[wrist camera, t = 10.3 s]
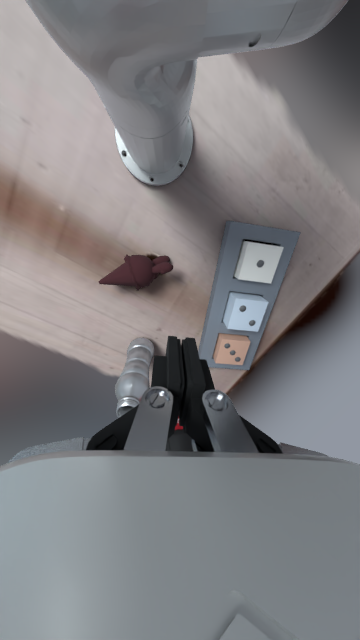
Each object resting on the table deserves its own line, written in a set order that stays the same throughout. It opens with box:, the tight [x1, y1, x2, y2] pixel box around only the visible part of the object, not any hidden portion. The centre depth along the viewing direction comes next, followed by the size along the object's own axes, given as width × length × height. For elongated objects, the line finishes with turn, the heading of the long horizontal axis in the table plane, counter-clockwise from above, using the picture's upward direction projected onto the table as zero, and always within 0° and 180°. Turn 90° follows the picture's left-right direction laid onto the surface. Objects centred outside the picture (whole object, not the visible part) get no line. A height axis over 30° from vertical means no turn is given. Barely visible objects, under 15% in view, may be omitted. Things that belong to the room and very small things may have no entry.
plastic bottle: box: [115, 338, 154, 417], centre depth 40 cm, size 6×7×20 cm
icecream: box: [99, 255, 173, 290], centre depth 38 cm, size 7×7×15 cm
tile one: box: [233, 241, 284, 283], centre depth 39 cm, size 7×7×5 cm
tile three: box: [213, 333, 251, 365], centre depth 48 cm, size 7×7×5 cm
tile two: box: [222, 292, 269, 332], centre depth 42 cm, size 7×7×5 cm
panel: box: [198, 221, 301, 370], centre depth 44 cm, size 34×14×3 cm, turn 172°
